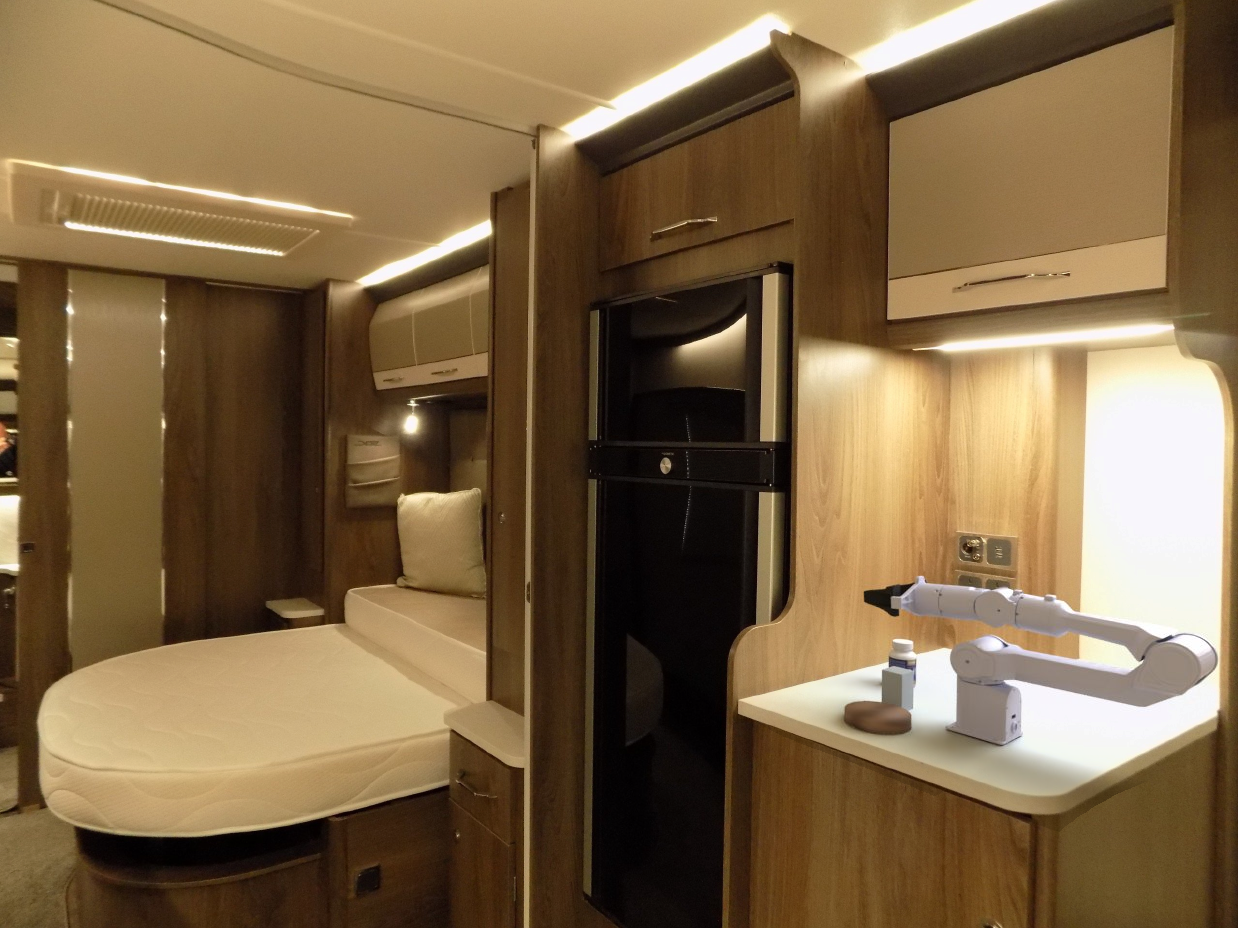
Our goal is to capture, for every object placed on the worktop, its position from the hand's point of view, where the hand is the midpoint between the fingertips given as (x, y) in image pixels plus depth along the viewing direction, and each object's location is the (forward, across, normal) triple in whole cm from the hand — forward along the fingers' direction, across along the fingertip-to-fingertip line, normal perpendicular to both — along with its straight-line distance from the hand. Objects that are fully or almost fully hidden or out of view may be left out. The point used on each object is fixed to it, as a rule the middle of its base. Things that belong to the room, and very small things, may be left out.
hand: (876, 594), depth 143 cm
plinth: (-6, +10, +21) cm, 24 cm away
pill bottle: (+3, -14, +20) cm, 25 cm away
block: (-4, 0, +20) cm, 21 cm away
